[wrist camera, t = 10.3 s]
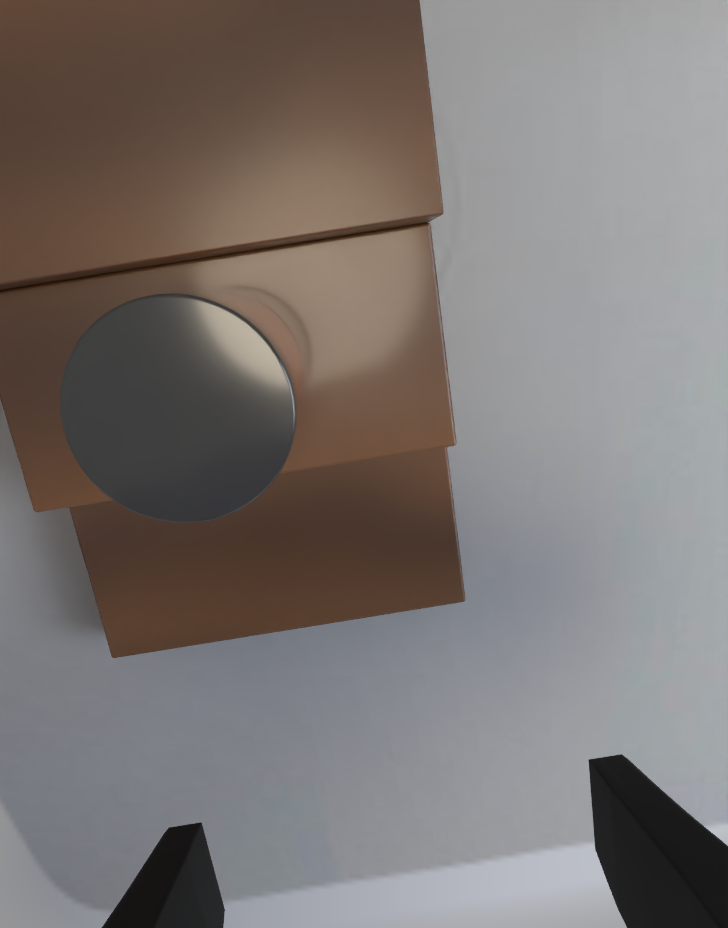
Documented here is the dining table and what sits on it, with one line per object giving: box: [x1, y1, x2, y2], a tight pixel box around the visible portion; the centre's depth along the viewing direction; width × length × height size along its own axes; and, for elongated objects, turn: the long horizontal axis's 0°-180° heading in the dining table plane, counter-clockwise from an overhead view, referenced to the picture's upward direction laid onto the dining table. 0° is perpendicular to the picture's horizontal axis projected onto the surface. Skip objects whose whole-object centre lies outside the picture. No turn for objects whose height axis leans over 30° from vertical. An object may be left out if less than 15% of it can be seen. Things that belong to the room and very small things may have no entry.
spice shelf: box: [0, 0, 465, 658], centre depth 17 cm, size 16×11×6 cm, turn 9°
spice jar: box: [60, 291, 304, 523], centre depth 14 cm, size 4×4×5 cm
